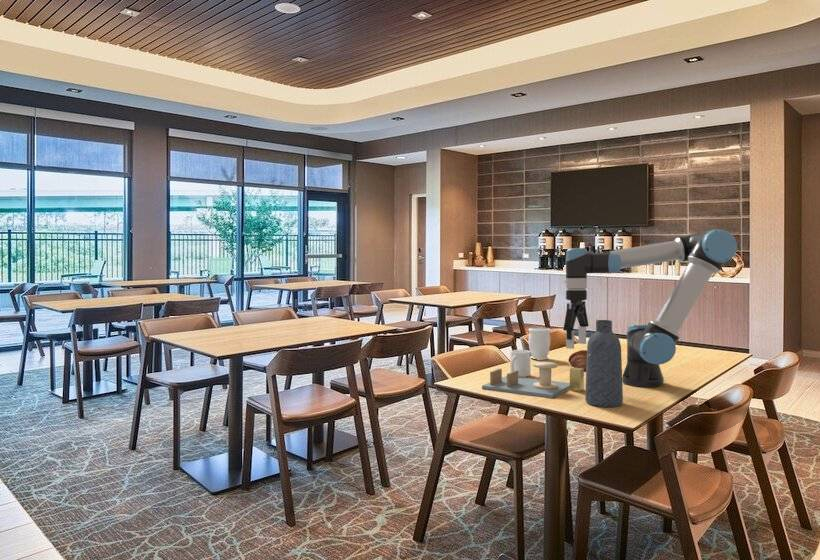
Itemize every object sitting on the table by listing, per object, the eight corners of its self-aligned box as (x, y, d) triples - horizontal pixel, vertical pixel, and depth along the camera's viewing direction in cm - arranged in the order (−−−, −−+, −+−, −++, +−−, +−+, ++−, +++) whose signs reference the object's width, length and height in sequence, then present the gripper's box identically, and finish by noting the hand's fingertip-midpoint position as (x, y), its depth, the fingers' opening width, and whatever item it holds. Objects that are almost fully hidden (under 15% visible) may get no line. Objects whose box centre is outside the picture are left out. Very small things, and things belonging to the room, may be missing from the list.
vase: (608, 409, 189) (608, 323, 188) (577, 402, 198) (577, 320, 197) (630, 403, 196) (630, 320, 195) (599, 397, 206) (599, 318, 205)
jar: (524, 358, 287) (524, 327, 286) (543, 356, 290) (543, 327, 289) (535, 361, 277) (535, 330, 276) (554, 360, 280) (554, 329, 279)
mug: (520, 379, 236) (519, 354, 236) (502, 377, 241) (502, 352, 241) (533, 375, 245) (533, 350, 245) (516, 372, 251) (516, 349, 250)
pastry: (611, 369, 256) (611, 351, 256) (582, 372, 251) (582, 354, 250) (586, 363, 272) (586, 346, 272) (559, 366, 266) (559, 348, 266)
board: (573, 386, 223) (573, 361, 223) (552, 398, 205) (552, 370, 204) (506, 378, 239) (506, 354, 238) (482, 388, 221) (481, 363, 220)
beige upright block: (583, 389, 218) (583, 368, 217) (580, 391, 214) (580, 370, 214) (573, 388, 220) (573, 367, 220) (569, 390, 217) (569, 369, 216)
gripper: (577, 287, 228) (577, 341, 229) (554, 290, 208) (554, 349, 209) (596, 288, 224) (596, 342, 225) (574, 291, 203) (574, 351, 204)
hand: (576, 346), depth 217 cm, fingers open, 13 cm apart
